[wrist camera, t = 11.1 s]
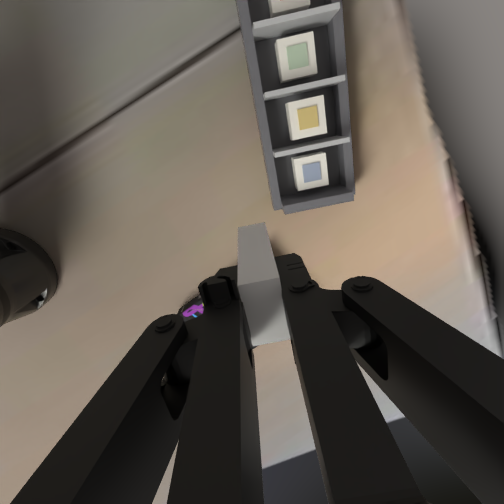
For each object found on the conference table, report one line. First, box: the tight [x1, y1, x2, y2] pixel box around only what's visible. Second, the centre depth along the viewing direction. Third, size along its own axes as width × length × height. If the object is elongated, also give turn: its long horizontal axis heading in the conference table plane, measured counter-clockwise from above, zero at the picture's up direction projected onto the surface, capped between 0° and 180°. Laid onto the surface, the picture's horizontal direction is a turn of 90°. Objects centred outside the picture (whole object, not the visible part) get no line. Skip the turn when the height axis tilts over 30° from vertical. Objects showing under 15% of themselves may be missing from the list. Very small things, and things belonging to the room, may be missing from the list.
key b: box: [291, 151, 329, 191], centre depth 43 cm, size 4×4×3 cm
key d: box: [285, 95, 327, 140], centre depth 39 cm, size 4×4×3 cm
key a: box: [275, 31, 317, 84], centre depth 38 cm, size 4×4×3 cm
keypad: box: [236, 0, 355, 214], centre depth 39 cm, size 12×30×6 cm, turn 11°
